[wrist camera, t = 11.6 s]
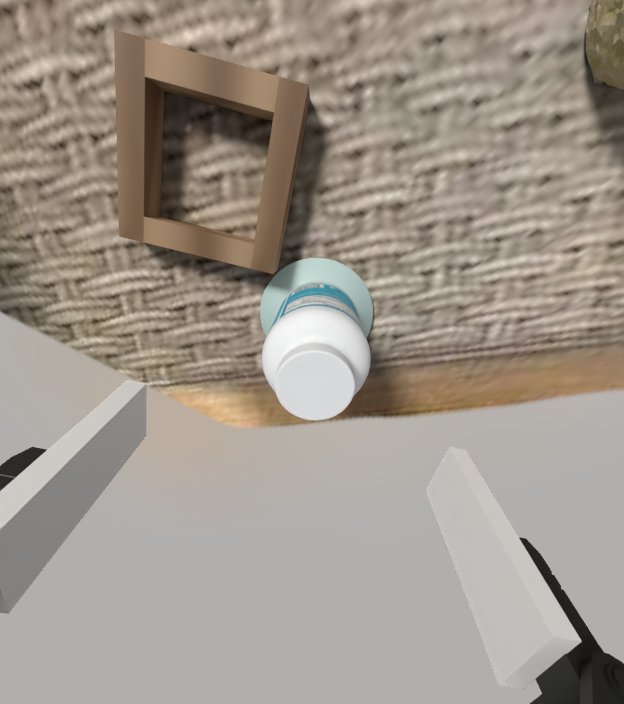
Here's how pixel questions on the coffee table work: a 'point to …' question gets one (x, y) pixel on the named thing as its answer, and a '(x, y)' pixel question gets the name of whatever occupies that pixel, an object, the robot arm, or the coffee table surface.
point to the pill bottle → (316, 351)
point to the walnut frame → (147, 145)
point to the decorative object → (606, 42)
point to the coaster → (315, 272)
